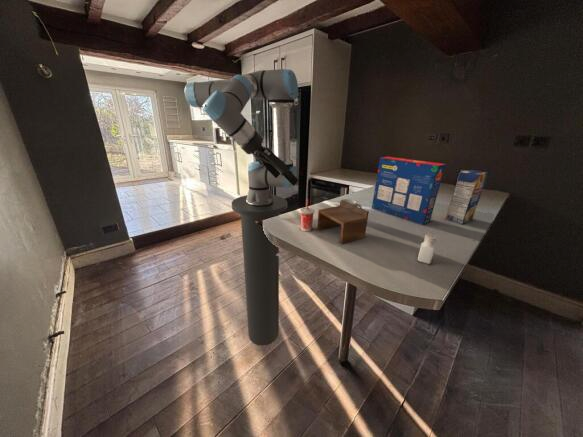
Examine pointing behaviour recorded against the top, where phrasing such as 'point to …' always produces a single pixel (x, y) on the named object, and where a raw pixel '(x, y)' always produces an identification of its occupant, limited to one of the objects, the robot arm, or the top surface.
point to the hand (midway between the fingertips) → (286, 179)
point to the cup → (351, 202)
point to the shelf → (345, 220)
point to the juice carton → (466, 196)
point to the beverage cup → (306, 218)
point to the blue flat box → (407, 188)
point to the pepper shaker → (427, 249)
